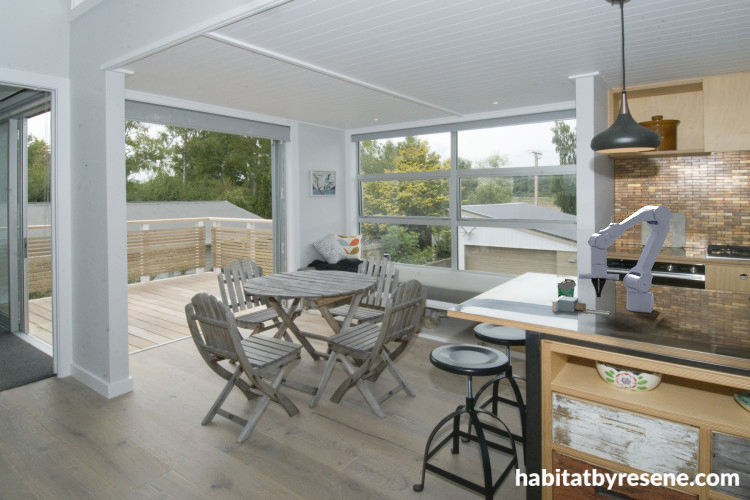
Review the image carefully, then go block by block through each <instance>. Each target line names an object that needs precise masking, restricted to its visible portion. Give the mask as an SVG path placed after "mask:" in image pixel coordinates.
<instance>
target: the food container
mask: <svg viewBox="0 0 750 500" xmlns="http://www.w3.org/2000/svg"><path fill="white" fill-rule="evenodd" d="M575 287H577V283H576V280H575V279H571V278H564V280H563V281H561V282H557V298H558V297H560V296H565V297H575Z"/></svg>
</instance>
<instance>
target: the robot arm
mask: <svg viewBox="0 0 750 500" xmlns="http://www.w3.org/2000/svg"><path fill="white" fill-rule="evenodd" d="M672 216H673V214H672V211H671V210H670V208H669V207H668V206H667V205H651V204H649V205H647V204H646V205H645V206H643V207H641V208H639V209H638V210H637V211H635V212H634V213H632V215H630V216H629V217H627V218H625V219H624V220H623V221H621V222H620V223H618V222H611V223H610V224H608V226H607V227H606V228H604V229H601V230H599V231H598V233H597V232H596V233H593V234H592V235H590V236H589V239H588V240H587V243H588V245H589V247H590V272H589V273H587V272H586V273H581V272H580V273H578V279H579V280H583V279H584V280H591V283H592V286H593V288H594V291H595V295H596V298H601V296H602V292H603V289H604V287H605V284H607V280H616V281H620V274H617V273H607V269H608V267H607V266H608V262H607V260H608V256H607V255H608V252H607V250H608V249H607V248H609V247H610V245H611V243H612V242H614V241H616V240H617V239H619V238H621V237H622V236H624V234H625V231H626V230H628V229H630V228H632V227H634V226H636V225H638V224H640V223H642V222H646V224H647V225H649V227H650V229H651V232H650V235H649V237H648V239H647V241H646V243H645V245H644V247H643V250H642V252H641V254H640V257H639V258H638V260H637V262H636V265H635V266H633V267H632V268H630V269H629V271H628V273H627V274H626V275H625V276H624V277H623V281H622V282H623V285H624V286H625V287H626V310H627V311H631V312H642V313H650V314H651V313H652V312H653V311H654V301H655V299H654V297H655V295H654V292H651V291H650V290H651V287H652V284H653V283H652V280H653V278H654V276H653V273H652V268H653V266H654V264H655V262H656V260H657V258H658V256H659V254H660V251H661V250H662V247H663V245H664V243H665V240H666V238H667V236H668V234H669V231H670V224H671V223H670V221H671V219H672Z"/></svg>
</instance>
